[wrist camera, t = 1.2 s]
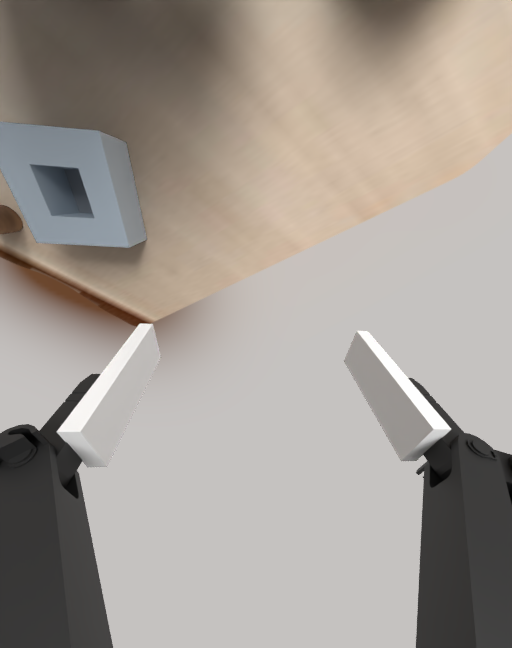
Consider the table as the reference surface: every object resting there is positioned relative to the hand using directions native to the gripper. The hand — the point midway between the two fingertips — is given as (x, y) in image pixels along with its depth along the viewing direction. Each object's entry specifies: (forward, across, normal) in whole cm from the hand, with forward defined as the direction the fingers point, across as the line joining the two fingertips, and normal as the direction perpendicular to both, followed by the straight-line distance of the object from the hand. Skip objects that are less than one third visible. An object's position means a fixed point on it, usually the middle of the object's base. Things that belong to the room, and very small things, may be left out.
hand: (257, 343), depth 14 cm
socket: (+26, -23, +6) cm, 35 cm away
